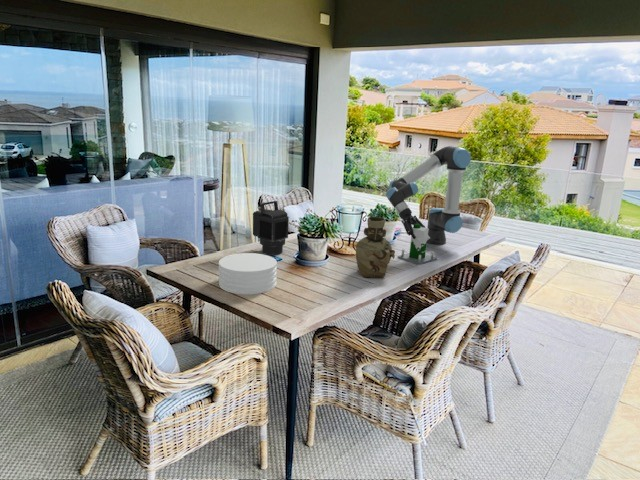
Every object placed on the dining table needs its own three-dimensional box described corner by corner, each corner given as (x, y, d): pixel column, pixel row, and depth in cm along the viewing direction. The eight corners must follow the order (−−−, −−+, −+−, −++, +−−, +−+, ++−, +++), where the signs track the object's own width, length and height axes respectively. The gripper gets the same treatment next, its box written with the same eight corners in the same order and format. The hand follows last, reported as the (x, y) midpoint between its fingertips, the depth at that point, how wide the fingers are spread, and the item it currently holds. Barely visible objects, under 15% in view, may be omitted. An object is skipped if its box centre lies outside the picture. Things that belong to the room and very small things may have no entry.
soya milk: (413, 254, 294) (416, 222, 289) (427, 257, 289) (430, 225, 284) (407, 257, 287) (410, 224, 282) (420, 260, 282) (424, 227, 277)
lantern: (273, 257, 278) (274, 206, 270) (251, 250, 288) (251, 201, 280) (290, 251, 290) (291, 203, 281) (268, 245, 300) (269, 198, 292)
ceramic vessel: (384, 282, 247) (389, 226, 239) (348, 274, 257) (351, 219, 248) (397, 272, 263) (403, 219, 255) (363, 264, 273) (366, 213, 264)
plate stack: (249, 270, 256) (249, 249, 253) (288, 284, 239) (288, 262, 236) (207, 283, 235) (206, 261, 231) (245, 299, 218) (245, 275, 215)
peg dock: (416, 252, 300) (416, 245, 299) (437, 259, 289) (438, 251, 287) (397, 257, 289) (398, 249, 287) (418, 264, 277) (419, 256, 276)
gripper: (409, 211, 300) (428, 241, 295) (388, 217, 283) (409, 248, 278) (417, 204, 295) (437, 234, 290) (397, 209, 278) (418, 241, 273)
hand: (423, 241), depth 284 cm, fingers open, 11 cm apart
